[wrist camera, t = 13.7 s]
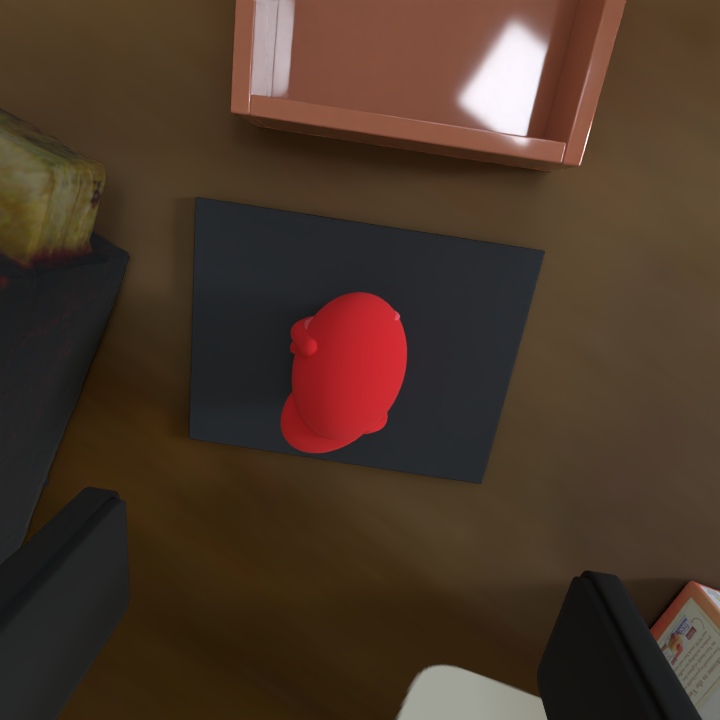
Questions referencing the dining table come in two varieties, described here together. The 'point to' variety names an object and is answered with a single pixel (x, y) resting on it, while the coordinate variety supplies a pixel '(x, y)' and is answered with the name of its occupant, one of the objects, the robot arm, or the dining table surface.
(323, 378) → the cap
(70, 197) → the packaged item
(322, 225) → the mat
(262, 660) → the dining table surface
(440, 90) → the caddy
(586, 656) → the robot arm
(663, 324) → the dining table surface
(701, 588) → the cracker box
